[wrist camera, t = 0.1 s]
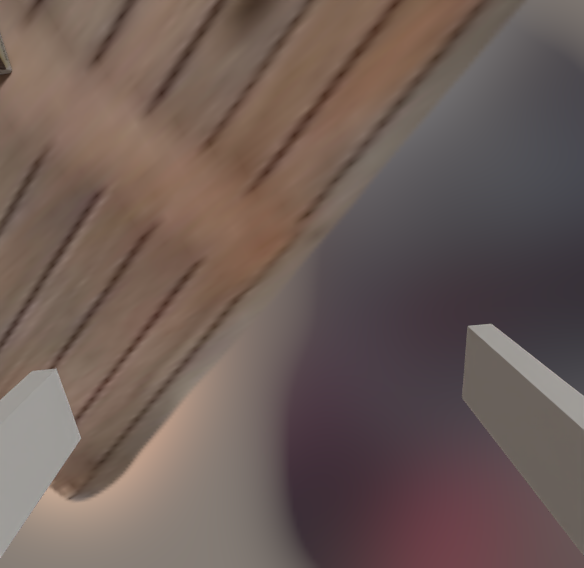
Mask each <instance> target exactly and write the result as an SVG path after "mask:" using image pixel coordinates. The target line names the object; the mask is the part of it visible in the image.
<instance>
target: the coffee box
mask: <svg viewBox="0 0 584 568" xmlns="http://www.w3.org/2000/svg"><path fill="white" fill-rule="evenodd" d="M11 71H12V69H11V65H10V62H9V59H8V56H7V53H6V49H5V46H4V43H3V40H2V37H1V34H0V74H8V73H11Z"/></svg>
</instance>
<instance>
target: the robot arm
mask: <svg viewBox="0 0 584 568" xmlns="http://www.w3.org/2000/svg"><path fill="white" fill-rule="evenodd" d="M462 398H463V400H464V401H465V402H466V404H467V405H468V406H469V407H470V409H471V410H472V411H473V413H474V414H475V415H476V417H477V418H478V419H479V420H480V422H481V423H482V424H483V426H484V427H485V428H486V430H487V431H488V432H489V433H490V435H491V436H492V437H493V438H494V440H495V441H496V443H497V444H498V445H499V446H500V448H501V449H502V450H503V452H504V453H505V454H506V456H507V457H508V458H509V459H510V460H511V462H512V463H513V464H514V466H515V467H516V468H517V470H518V471H519V472H520V474H521V475H522V476H523V478H524V479H525V480H526V482H527V483H528V484H529V485H530V487H531V488H532V489H533V490H534V492H535V493H536V494H537V496H538V497H539V498H540V500H541V501H542V502H543V504H544V505H545V506H546V507H547V509H548V510H549V511H550V513H551V514H552V515H553V517H554V518H555V519H556V520H557V522H558V523H559V524H560V526H561V527H562V528H563V530H564V531H565V532H566V533H567V535H568V536H569V537H570V539H571V540H572V541H573V543H574V544H575V545H576V546H577V548H578V549H579V550H580V551H581V553H582V554H583V556H584V396H583V395H582V394H580V393H579V392H578V391H576V390H575V389H574V388H573V387H571V386H570V385H569V384H567V383H566V382H565V381H564V380H562V379H561V378H559V376H557V375H556V374H555V373H553V372H552V371H551V370H550V369H548V368H547V367H546V366H545V365H543V364H542V363H541V362H539V361H538V360H537V359H536V358H534V357H533V356H532V355H531V354H529V353H528V352H527V351H525V350H524V349H523V348H522V347H520V346H519V345H518V344H516V343H515V342H514V341H513V340H511V339H510V338H509V337H508V336H506V335H505V334H504V333H502V332H501V331H500V330H499V329H497V328H496V327H495V326H494V325H492V324H484V325H474V326H468V329H467V342H466V354H465V367H464V380H463V392H462ZM80 439H81V437H80V434H79V431H78V428H77V425H76V423H75V420H74V417H73V414H72V411H71V408H70V406H69V403H68V400H67V397H66V394H65V392H64V389H63V386H62V383H61V380H60V378H59V375H58V372H57V369H49V370H39V371H32V372H31V373H29V374H28V375H27V376H26V377H25V378H24V379H23V380H22V381H21V382H20V383H18V384H17V385H16V386H15V387H14V388H13V389H12V390H11V391H10V392H9V393H7V394H6V395H5V396H4V397H3V398H2V399H1V400H0V558H1V557H2V555H3V554H4V552H5V551H6V549H7V548H8V546H9V545H10V543H11V542H12V540H13V539H14V537H15V536H16V534H17V533H18V531H19V530H20V528H21V527H22V526H23V524H24V523H25V521H26V519H27V518H28V516H29V515H30V514H31V512H32V511H33V509H34V508H35V506H36V505H37V503H38V502H39V500H40V499H41V497H42V496H43V494H44V493H45V491H46V490H47V488H48V487H49V485H50V484H51V482H52V481H53V479H54V478H55V476H56V475H57V473H58V472H59V470H60V469H61V467H62V466H63V465H64V463H65V462H66V460H67V459H68V457H69V456H70V454H71V453H72V451H73V450H74V448H75V447H76V445H77V444H78V442H79V441H80Z"/></svg>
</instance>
